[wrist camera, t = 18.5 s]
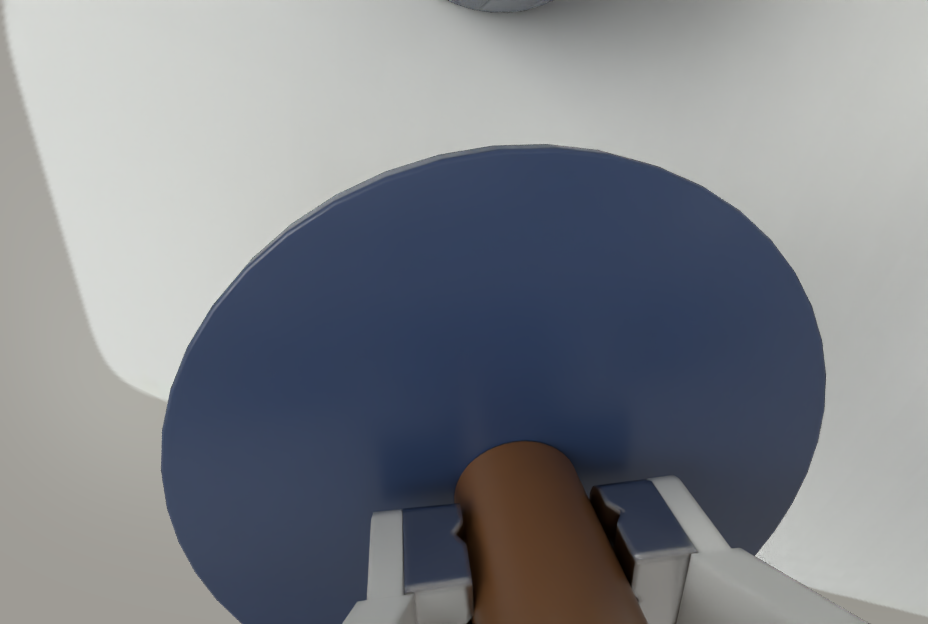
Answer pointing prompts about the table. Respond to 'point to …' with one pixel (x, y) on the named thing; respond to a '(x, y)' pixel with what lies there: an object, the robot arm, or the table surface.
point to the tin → (500, 4)
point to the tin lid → (489, 383)
